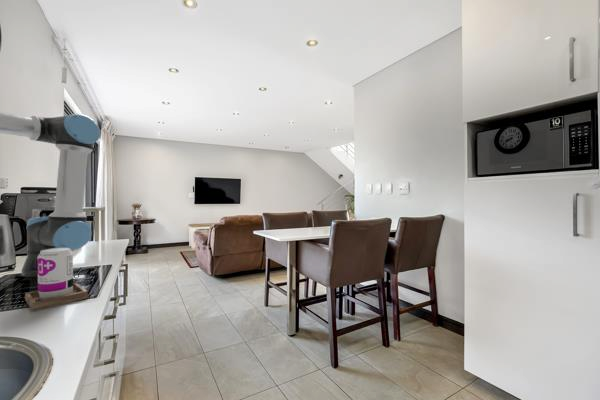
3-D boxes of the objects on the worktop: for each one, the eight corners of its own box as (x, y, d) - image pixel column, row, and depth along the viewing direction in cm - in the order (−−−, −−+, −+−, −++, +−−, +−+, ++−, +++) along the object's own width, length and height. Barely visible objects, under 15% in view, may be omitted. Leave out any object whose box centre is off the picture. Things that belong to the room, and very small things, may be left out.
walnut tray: (25, 300, 84) (24, 293, 84) (76, 288, 94) (76, 282, 94) (32, 311, 77) (32, 303, 76) (87, 297, 87) (87, 291, 86)
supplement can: (52, 303, 81) (51, 253, 80) (31, 301, 82) (30, 251, 82) (79, 293, 88) (79, 247, 88) (59, 291, 90) (58, 246, 90)
